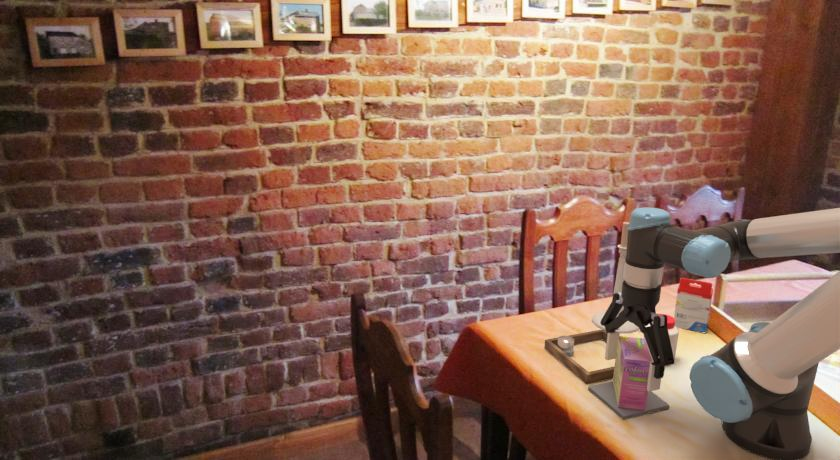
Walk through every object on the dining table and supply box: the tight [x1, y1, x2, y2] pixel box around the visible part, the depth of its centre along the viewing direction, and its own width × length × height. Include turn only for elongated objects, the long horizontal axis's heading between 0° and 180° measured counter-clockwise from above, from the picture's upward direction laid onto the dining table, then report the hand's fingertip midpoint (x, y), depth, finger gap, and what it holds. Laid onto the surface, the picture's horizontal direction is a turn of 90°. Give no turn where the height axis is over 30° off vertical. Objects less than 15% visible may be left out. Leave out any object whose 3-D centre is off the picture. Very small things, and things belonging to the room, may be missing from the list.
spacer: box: [557, 335, 575, 358], centre depth 146 cm, size 4×4×4 cm
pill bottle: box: [642, 313, 680, 367], centre depth 142 cm, size 8×8×11 cm
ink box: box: [673, 277, 714, 334], centre depth 159 cm, size 8×5×15 cm, turn 58°
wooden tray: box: [544, 328, 615, 385], centre depth 143 cm, size 18×18×2 cm
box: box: [612, 335, 652, 411], centre depth 125 cm, size 10×6×12 cm, turn 168°
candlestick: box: [591, 221, 640, 334], centre depth 159 cm, size 13×13×30 cm
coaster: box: [587, 380, 670, 421], centre depth 127 cm, size 12×12×1 cm
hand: (630, 373), depth 125 cm, fingers open, 13 cm apart
